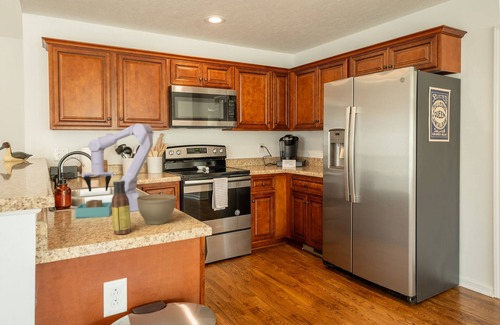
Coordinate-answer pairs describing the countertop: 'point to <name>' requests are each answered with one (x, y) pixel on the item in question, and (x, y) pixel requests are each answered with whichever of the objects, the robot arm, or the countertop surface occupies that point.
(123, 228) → the sauce bottle
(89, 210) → the teal bin
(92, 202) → the walnut block
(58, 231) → the countertop surface
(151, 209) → the planter bowl
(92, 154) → the robot arm
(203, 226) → the countertop surface
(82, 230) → the countertop surface
